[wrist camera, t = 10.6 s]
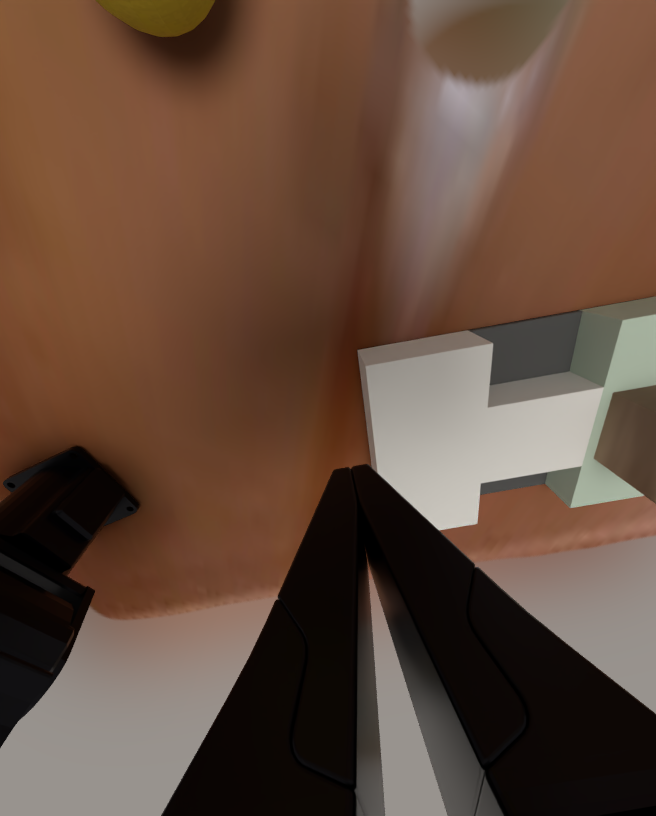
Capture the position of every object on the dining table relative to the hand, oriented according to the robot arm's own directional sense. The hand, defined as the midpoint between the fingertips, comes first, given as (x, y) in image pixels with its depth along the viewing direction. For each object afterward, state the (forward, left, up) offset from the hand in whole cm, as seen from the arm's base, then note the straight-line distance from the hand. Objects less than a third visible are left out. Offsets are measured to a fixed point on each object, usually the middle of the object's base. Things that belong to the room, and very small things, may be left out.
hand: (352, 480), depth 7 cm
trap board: (+9, -11, -13) cm, 19 cm away
